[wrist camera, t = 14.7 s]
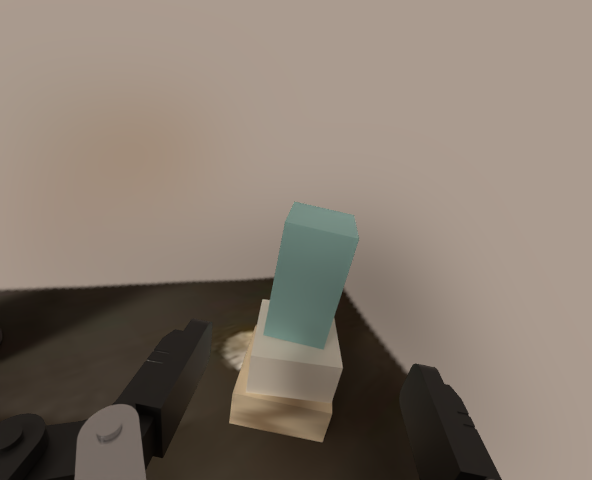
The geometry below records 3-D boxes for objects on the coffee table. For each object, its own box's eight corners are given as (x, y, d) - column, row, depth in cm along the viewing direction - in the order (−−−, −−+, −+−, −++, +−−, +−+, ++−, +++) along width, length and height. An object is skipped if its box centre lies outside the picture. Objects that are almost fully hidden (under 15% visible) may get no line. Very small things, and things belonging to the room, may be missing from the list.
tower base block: (229, 425, 23) (232, 393, 22) (251, 353, 31) (255, 325, 29) (321, 444, 23) (332, 413, 22) (322, 367, 31) (330, 340, 29)
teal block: (263, 335, 22) (285, 221, 18) (275, 298, 27) (294, 201, 23) (323, 349, 22) (359, 238, 18) (325, 310, 27) (353, 215, 23)
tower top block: (245, 392, 22) (250, 355, 20) (257, 330, 28) (262, 299, 27) (331, 403, 22) (342, 368, 21) (324, 340, 29) (332, 309, 27)
